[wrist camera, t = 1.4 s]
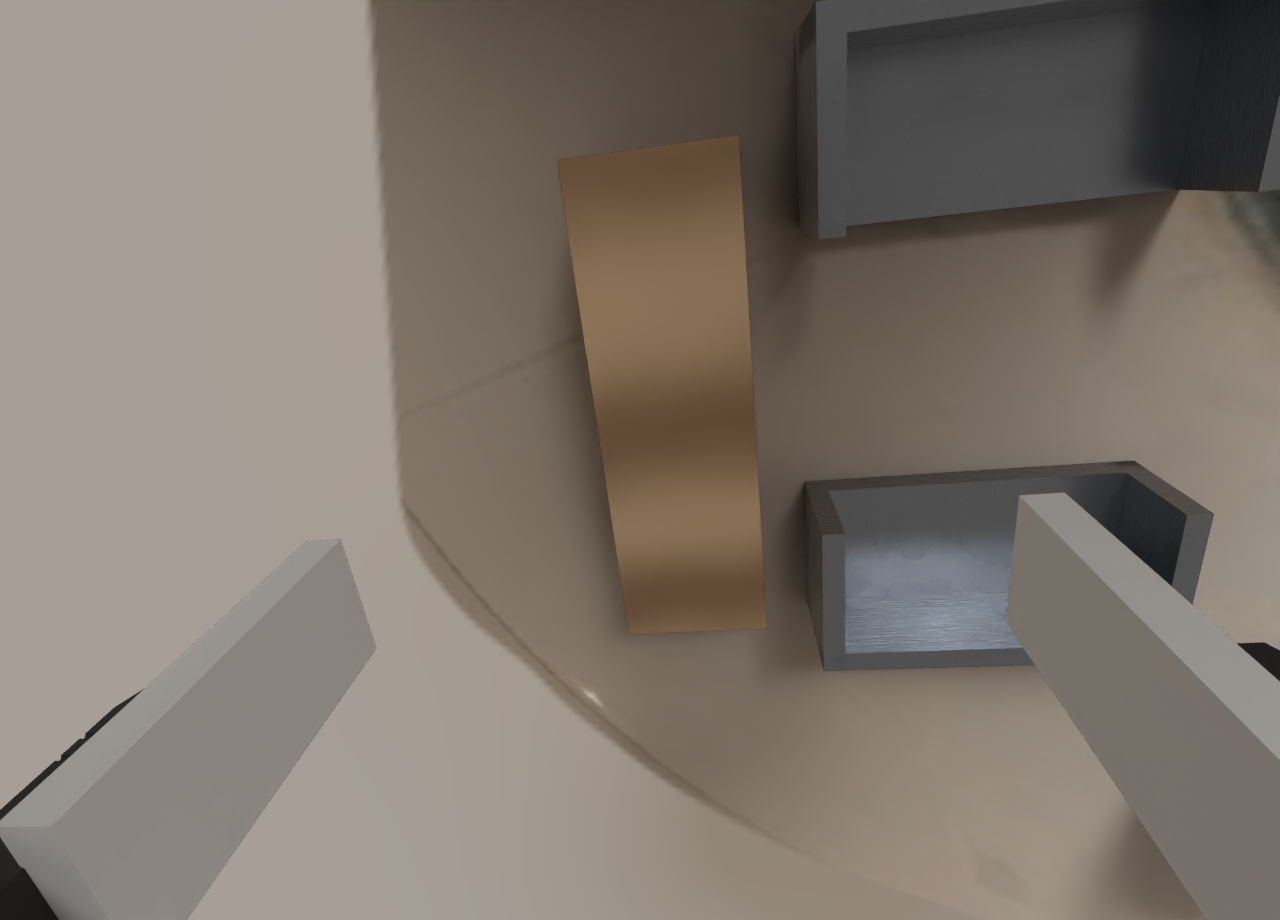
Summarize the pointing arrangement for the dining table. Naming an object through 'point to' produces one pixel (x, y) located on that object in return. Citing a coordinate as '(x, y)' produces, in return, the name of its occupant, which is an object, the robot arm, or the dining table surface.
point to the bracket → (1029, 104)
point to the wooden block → (672, 378)
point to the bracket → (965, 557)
